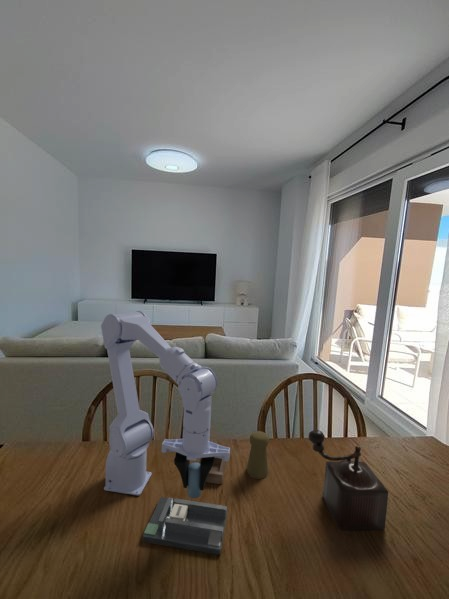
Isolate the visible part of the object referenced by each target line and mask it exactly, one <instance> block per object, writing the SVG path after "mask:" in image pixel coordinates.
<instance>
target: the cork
mask: <svg viewBox="0 0 449 599" xmlns="http://www.w3.org/2000/svg"><path fill="white" fill-rule="evenodd" d="M269 440H270V439H269V436H268V434H267V433H265V432H264V431H262V430H261V431H260V430H257V431H254V432H252V433H251V434H250V436H249V443H250V445H251V446H250V450H249V455H248V461H247V464H246V473H247V474H248V475H249V476H250V477H251V478H253V479H259V480H261V479H264V478H266V477H267V476H269V466H268V453H267V451H268V450H267V447H268V445H269V443H270V442H269Z"/></svg>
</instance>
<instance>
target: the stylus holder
mask: <svg viewBox="0 0 449 599" xmlns="http://www.w3.org/2000/svg"><path fill="white" fill-rule="evenodd" d="M202 459H203V458H197V460H196V461H195V462H196V463H200V464H201V461H202ZM226 466H227V461H224V459H220V458H215V459H214V463H213V466H212V468H211V470H210V472H209V473H208V475H207V478H206V481H205V483H210V484H218V485H223V482H224V481H223V480H224V475H225V471H226Z"/></svg>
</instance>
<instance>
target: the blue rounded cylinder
mask: <svg viewBox="0 0 449 599" xmlns="http://www.w3.org/2000/svg"><path fill="white" fill-rule="evenodd" d="M200 482H201V468H200V463H196V461H195V462H191V463H190V464H189V466H188V486H187V496H188V497H189V498H191V499H198V498H199V497H200V496H201V495H202V490H200Z"/></svg>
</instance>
